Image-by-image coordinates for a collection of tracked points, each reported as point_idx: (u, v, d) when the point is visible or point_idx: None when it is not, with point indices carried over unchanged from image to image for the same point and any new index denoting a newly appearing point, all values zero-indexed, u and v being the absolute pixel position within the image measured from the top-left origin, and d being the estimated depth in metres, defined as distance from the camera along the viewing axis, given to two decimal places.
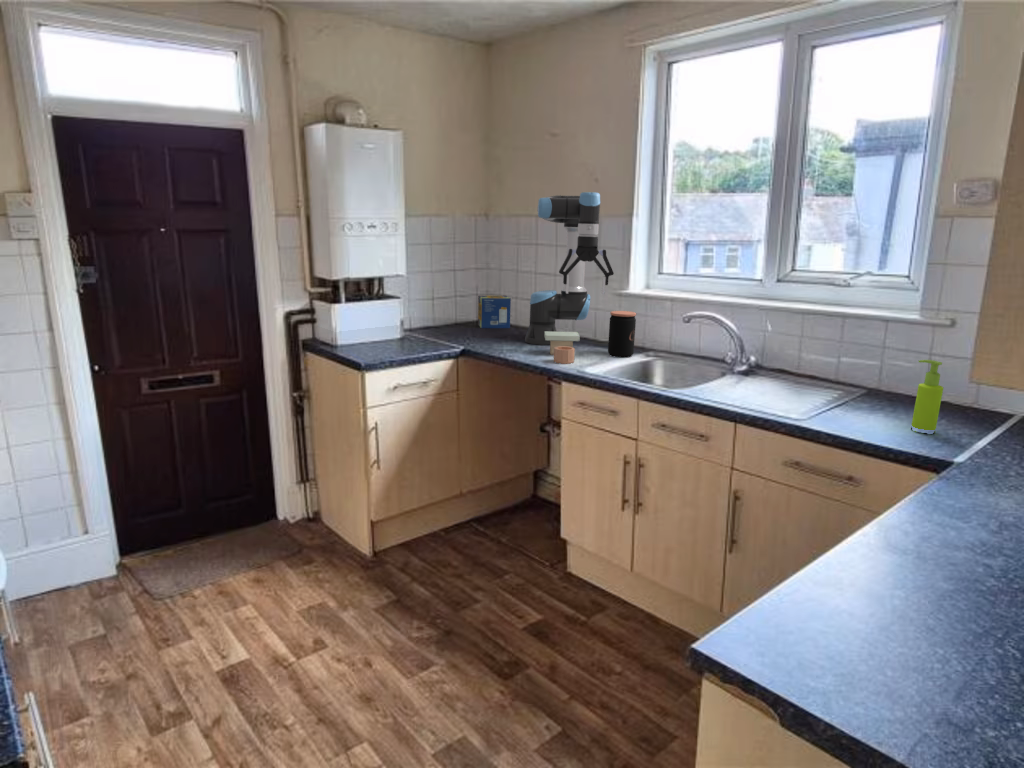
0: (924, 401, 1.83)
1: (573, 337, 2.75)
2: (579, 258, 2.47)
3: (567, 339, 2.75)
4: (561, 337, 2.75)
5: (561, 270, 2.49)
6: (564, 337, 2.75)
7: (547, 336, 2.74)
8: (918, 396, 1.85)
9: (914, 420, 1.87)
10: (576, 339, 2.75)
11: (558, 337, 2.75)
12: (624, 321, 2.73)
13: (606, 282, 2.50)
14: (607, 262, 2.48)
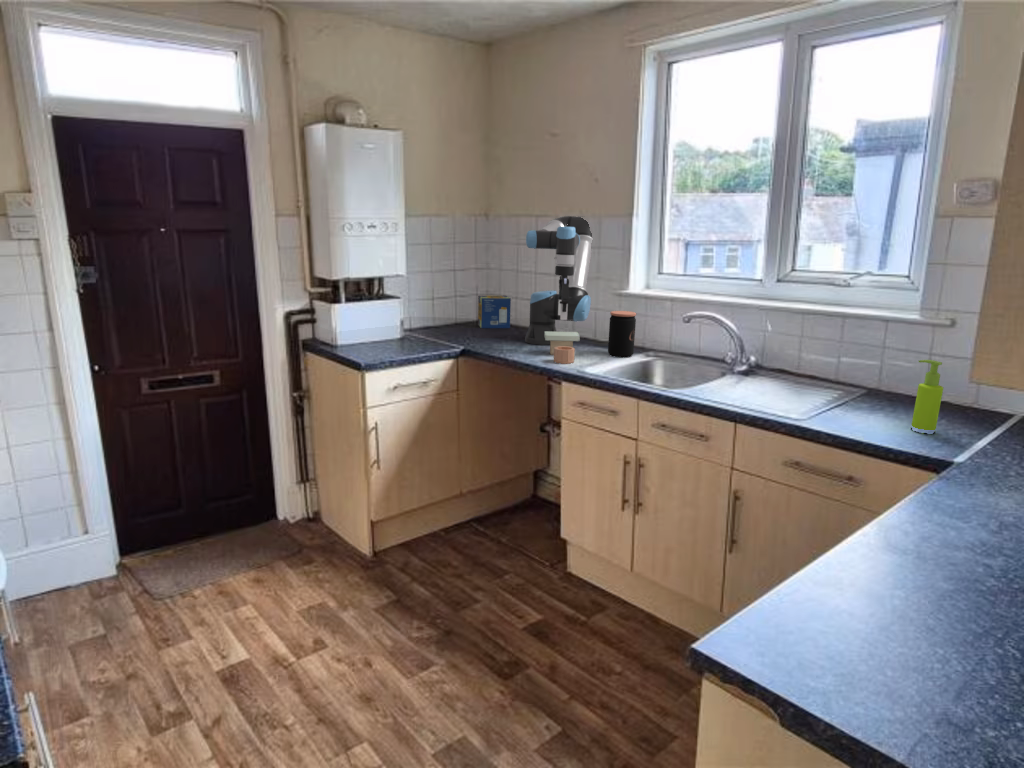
0: (924, 401, 1.83)
1: (573, 337, 2.75)
2: (559, 284, 2.77)
3: (567, 339, 2.75)
4: (561, 337, 2.75)
5: (558, 294, 2.84)
6: (564, 337, 2.75)
7: (547, 336, 2.74)
8: (918, 396, 1.85)
9: (914, 420, 1.87)
10: (576, 339, 2.75)
11: (558, 337, 2.75)
12: (624, 321, 2.73)
13: (562, 309, 2.69)
14: (562, 290, 2.67)
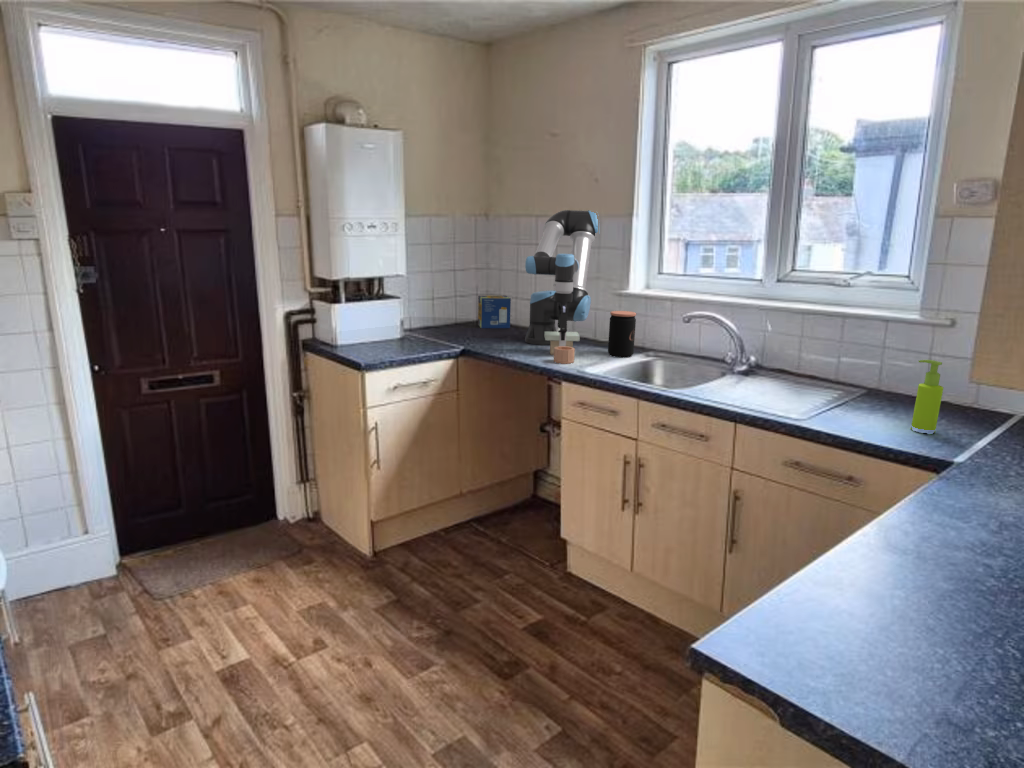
0: (924, 401, 1.83)
1: (573, 337, 2.75)
2: (558, 311, 2.79)
3: (567, 339, 2.75)
4: None
5: None
6: None
7: (547, 336, 2.74)
8: (918, 396, 1.85)
9: (914, 420, 1.87)
10: (576, 339, 2.75)
11: (558, 337, 2.75)
12: (624, 321, 2.73)
13: (561, 337, 2.73)
14: (560, 319, 2.71)
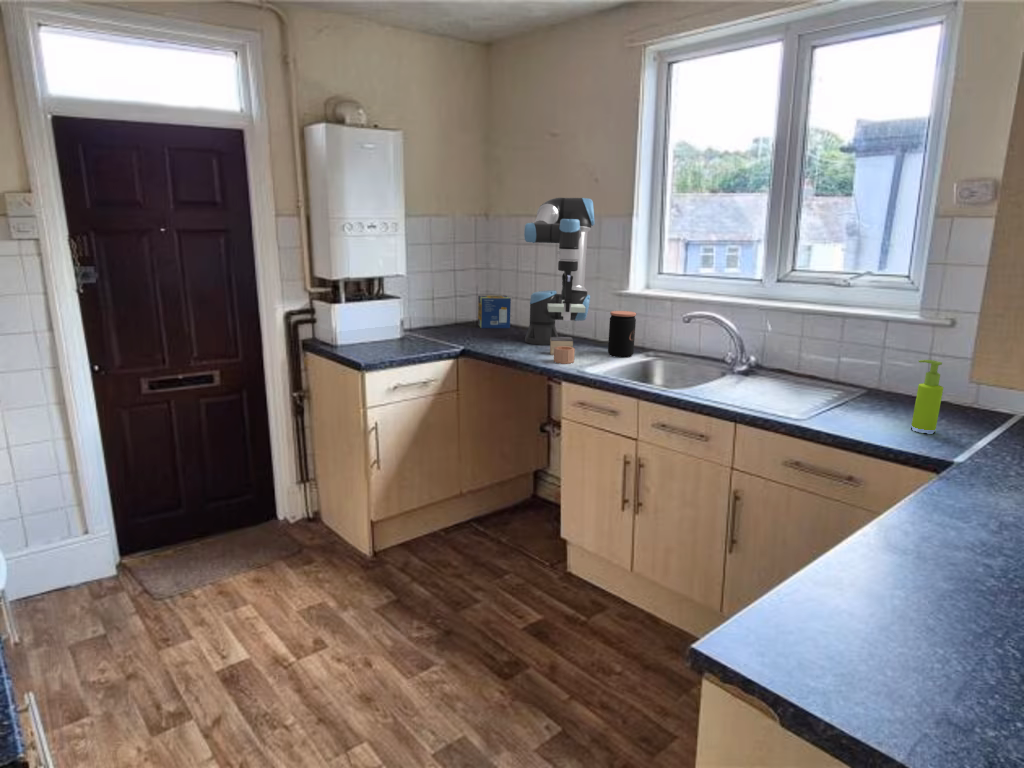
0: (924, 401, 1.83)
1: (578, 308, 2.56)
2: (562, 281, 2.61)
3: (572, 311, 2.56)
4: None
5: None
6: None
7: (550, 307, 2.55)
8: (918, 396, 1.85)
9: (914, 420, 1.87)
10: (582, 311, 2.56)
11: (562, 308, 2.56)
12: (624, 321, 2.73)
13: (565, 309, 2.54)
14: (565, 288, 2.52)
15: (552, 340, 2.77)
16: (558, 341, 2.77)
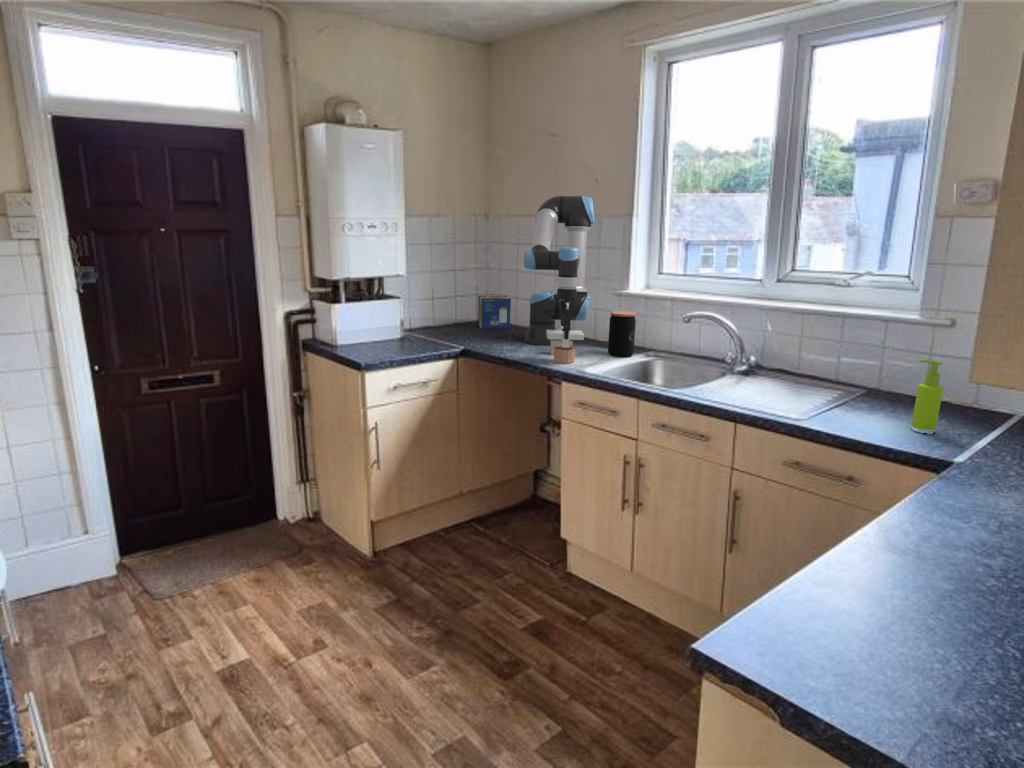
0: (924, 401, 1.83)
1: (577, 336, 2.58)
2: (561, 308, 2.63)
3: (571, 338, 2.58)
4: None
5: None
6: None
7: (549, 334, 2.58)
8: (918, 396, 1.85)
9: (914, 420, 1.87)
10: (580, 338, 2.58)
11: (561, 336, 2.58)
12: (624, 321, 2.73)
13: (564, 336, 2.57)
14: (564, 316, 2.54)
15: (552, 340, 2.77)
16: (558, 341, 2.77)
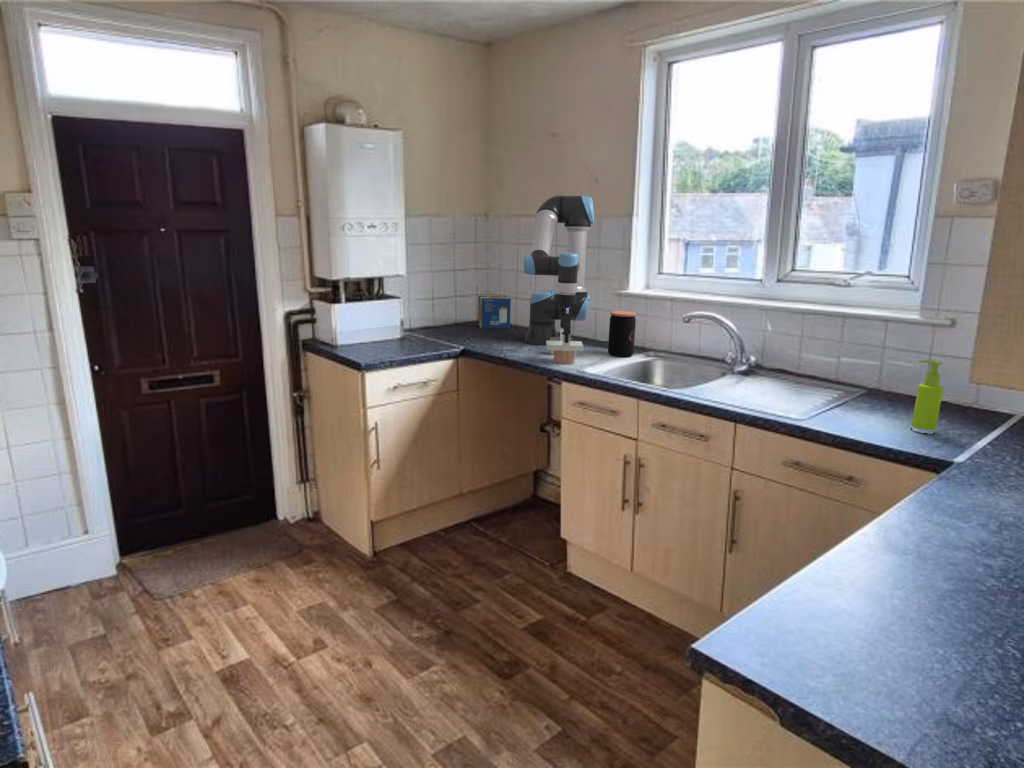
0: (924, 401, 1.83)
1: (576, 347, 2.59)
2: (561, 313, 2.64)
3: (570, 349, 2.59)
4: None
5: None
6: None
7: (549, 346, 2.59)
8: (918, 396, 1.85)
9: (914, 420, 1.87)
10: (580, 349, 2.59)
11: (561, 347, 2.59)
12: (624, 321, 2.73)
13: (564, 340, 2.56)
14: (564, 320, 2.54)
15: (552, 340, 2.77)
16: None
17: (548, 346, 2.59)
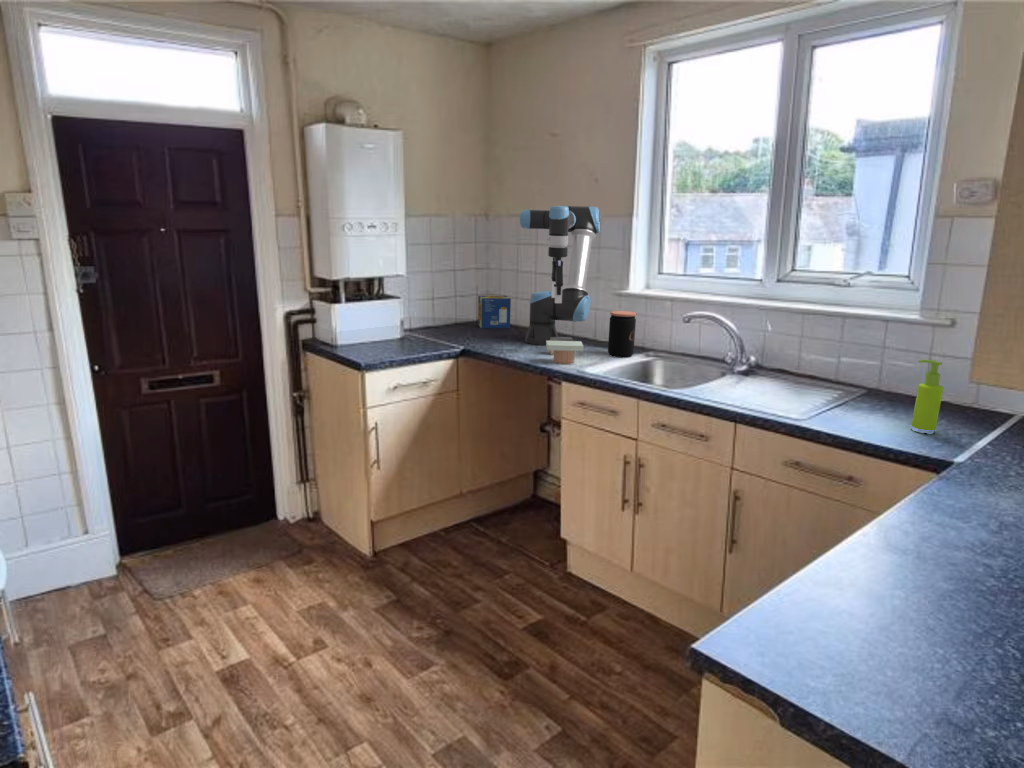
0: (924, 401, 1.83)
1: (576, 347, 2.59)
2: (552, 266, 2.69)
3: (570, 349, 2.59)
4: (564, 347, 2.59)
5: None
6: (567, 347, 2.59)
7: (549, 346, 2.59)
8: (918, 396, 1.85)
9: (914, 420, 1.87)
10: (580, 349, 2.59)
11: (561, 347, 2.59)
12: (624, 321, 2.73)
13: (557, 292, 2.61)
14: (556, 273, 2.59)
15: (552, 340, 2.77)
16: None
17: (548, 346, 2.59)
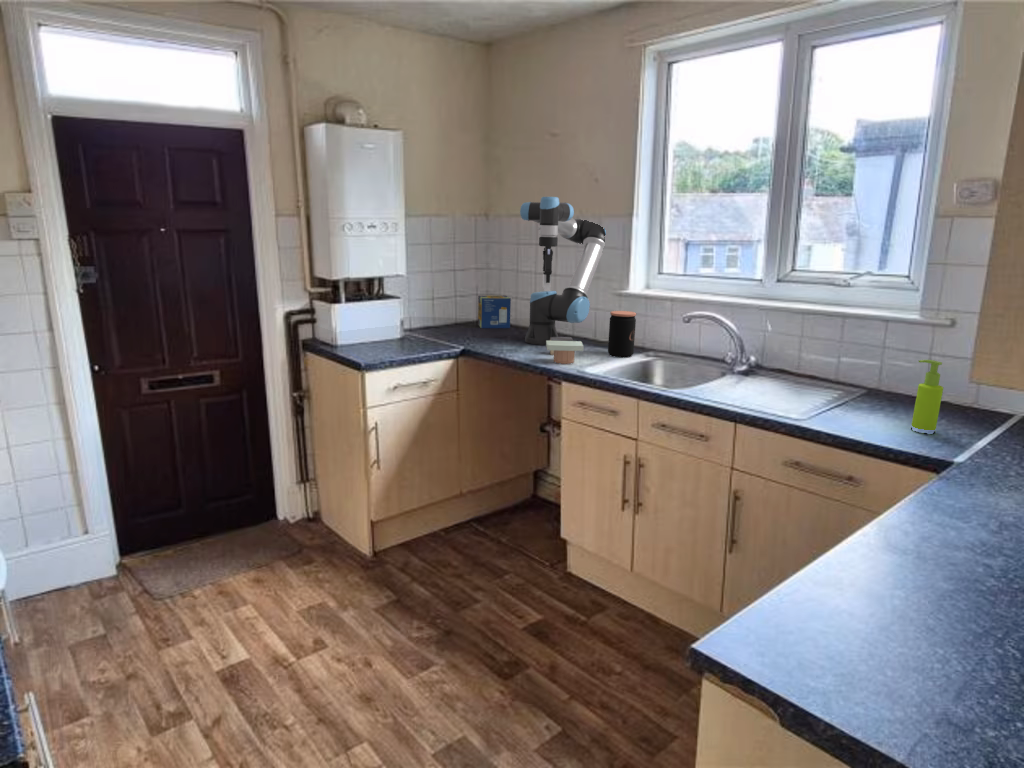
0: (924, 401, 1.83)
1: (576, 347, 2.59)
2: (543, 256, 2.75)
3: (570, 349, 2.59)
4: (564, 347, 2.59)
5: (543, 266, 2.83)
6: (567, 347, 2.59)
7: (549, 346, 2.59)
8: (918, 396, 1.85)
9: (914, 420, 1.87)
10: (580, 349, 2.59)
11: (561, 347, 2.59)
12: (624, 321, 2.73)
13: (546, 280, 2.67)
14: (545, 261, 2.65)
15: (552, 340, 2.77)
16: None
17: (548, 346, 2.59)
